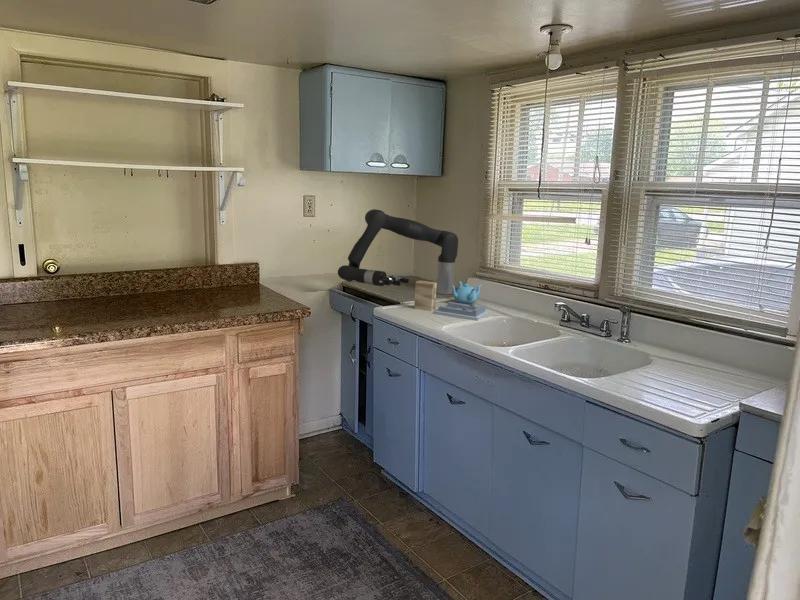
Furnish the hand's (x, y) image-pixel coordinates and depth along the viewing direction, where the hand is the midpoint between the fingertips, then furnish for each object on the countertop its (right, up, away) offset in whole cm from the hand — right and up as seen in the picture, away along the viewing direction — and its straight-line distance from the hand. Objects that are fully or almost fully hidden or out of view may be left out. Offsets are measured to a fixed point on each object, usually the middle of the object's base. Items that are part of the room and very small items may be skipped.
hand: (404, 282), depth 285 cm
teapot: (+31, -11, +13) cm, 35 cm away
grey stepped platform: (+27, -15, -8) cm, 32 cm away
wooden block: (+10, -13, -2) cm, 16 cm away
